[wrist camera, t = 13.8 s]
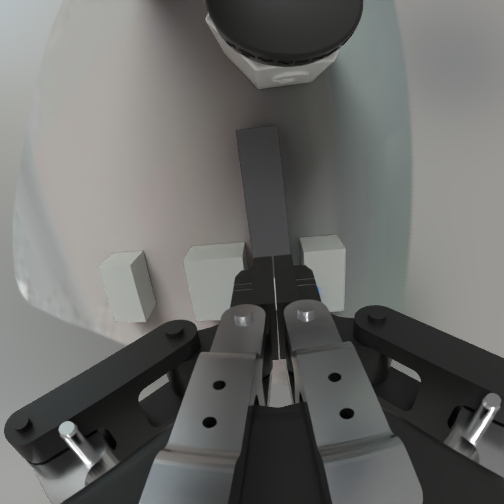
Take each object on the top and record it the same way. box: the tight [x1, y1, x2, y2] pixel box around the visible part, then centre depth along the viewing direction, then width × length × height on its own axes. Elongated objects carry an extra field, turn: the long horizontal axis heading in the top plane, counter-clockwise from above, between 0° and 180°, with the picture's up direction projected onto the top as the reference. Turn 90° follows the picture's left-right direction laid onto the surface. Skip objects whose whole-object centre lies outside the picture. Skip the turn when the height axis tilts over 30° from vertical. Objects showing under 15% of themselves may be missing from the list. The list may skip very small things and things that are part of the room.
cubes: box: [98, 235, 346, 322], centre depth 29 cm, size 7×22×4 cm, turn 96°
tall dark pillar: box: [236, 125, 290, 310], centre depth 26 cm, size 15×3×4 cm, turn 7°
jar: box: [205, 0, 363, 89], centre depth 17 cm, size 9×8×12 cm
